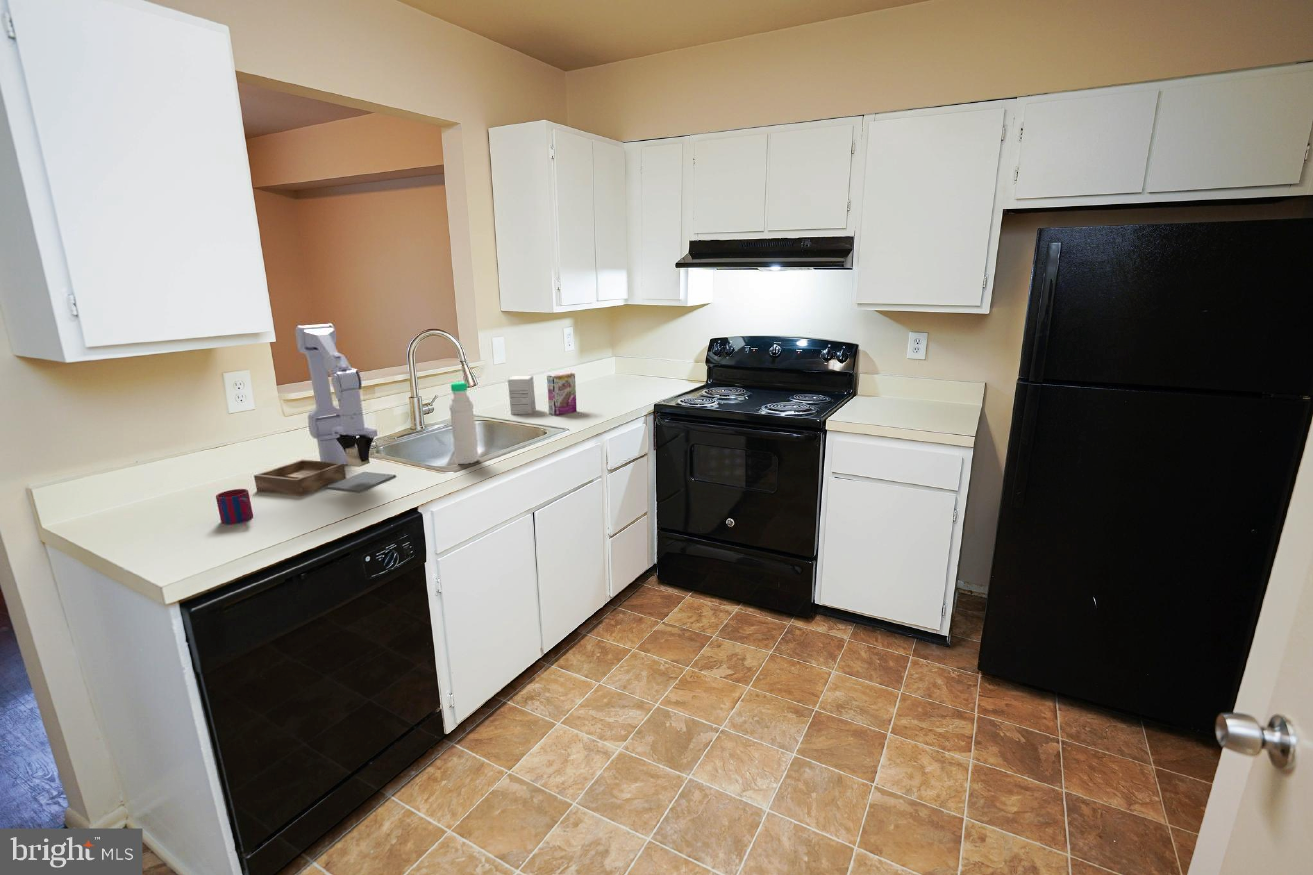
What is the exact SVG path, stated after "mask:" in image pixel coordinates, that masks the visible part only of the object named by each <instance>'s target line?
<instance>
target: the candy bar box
mask: <svg viewBox="0 0 1313 875" xmlns="http://www.w3.org/2000/svg"><path fill="white" fill-rule="evenodd" d="M546 380H547V382H546V383H547V385H546V386H547V399H548V400H547V401H548V402H547V403H548V414H549V415H551V416H554V417H555V416H562V415H565V414H566V415H567V414H570V413H571V414H572V413H576V412H577V410H578V409H577V388H576V373H573V372H563V373H557V374H548V375H546Z"/></svg>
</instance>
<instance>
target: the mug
mask: <svg viewBox="0 0 1313 875" xmlns="http://www.w3.org/2000/svg"><path fill="white" fill-rule="evenodd" d="M249 492H250V491H249V490H248V489H247V488H237V489H236V488H235V489H230V490H225V491H222V492H219V493H217V494H216V495H215V499H216V503H217V504H216V505H217V510H218V513H219V519H220V523H221V524H223V525H235V524H236V523H237V524H241V523H244V521H245V522H248V521H250V520H252V519H253V517H254V514H253V508H252V503H251V499H250V493H249ZM249 519H250V520H249ZM240 522H241V523H240Z"/></svg>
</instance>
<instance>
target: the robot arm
mask: <svg viewBox="0 0 1313 875" xmlns="http://www.w3.org/2000/svg"><path fill="white" fill-rule="evenodd" d="M336 331H337V330H336V328H335V326H334V325H333V324H332V323H330V322H329V323H326V324H324V323H323V324H309V325H308V324H307V325H297V326H296V328H295V338H296V339H295V340H296V346H297V349H298V351H299V353H300V354H304V355H305V357H306V359H307V363H308V369H309V376H310V380H311V385H312V386H311V387H312V390H313V396H314V401H315V408H313V409H312V410H311V411H310V412H309V413H308V414H307V420H308V423H307V424H308V431H309V434H310V436H311V438H313V439H315V440H316V442H317V447H318V448H317V449H318V454H319V460H320V461H324V462H334V463H344V466H345V465H348V462H347V456H346V450H345V449H347V448H350V447H353V446H357V448H358V451H359V456H360V459H361V462H365V461H367V460H368V459H369V460H370V451H371V446H372V443H373V441H374V439H375V438H376V437H378V430H377V429H374V428H370V427H368V426H365V420H364V413H363V407H362V405H363V404H362V398H361V392H360V390H361V389H362V386H363V385H362V384H363V383H362V378H361V374H360V373H359V370H358V369H357V368H355V367H351V365H350V363H349V361H348V360H347V358H346V356H345V355H344V354H343V353H341V352H338V349H337V347H336V342H337V341H338V340H337V337H338V336H337V332H336ZM329 376H330V377H331V384H332V389H333V391H334V394H335V398H336V399H337V403H338V404H337V405H338V407H337V406H335V405H334V402H333V398H332V393H331V392H332V391H331V385H330V380H329Z"/></svg>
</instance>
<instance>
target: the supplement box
mask: <svg viewBox="0 0 1313 875" xmlns="http://www.w3.org/2000/svg"><path fill="white" fill-rule="evenodd" d="M534 384H535V383H534V375H513V376H511V377H510V378H508V379H507V385H508V386H507V387H508V394H509V395H508V397H509V406H510V415H532V414H533V413H534V412H535V411H536V409H537V408H536V407H537V406H536V394H535V385H534Z"/></svg>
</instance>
